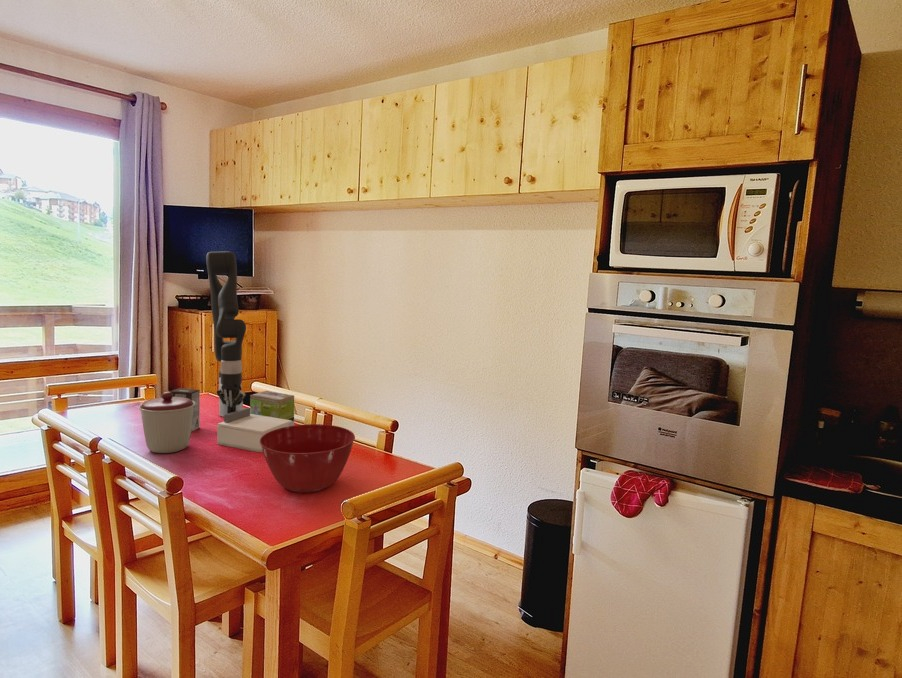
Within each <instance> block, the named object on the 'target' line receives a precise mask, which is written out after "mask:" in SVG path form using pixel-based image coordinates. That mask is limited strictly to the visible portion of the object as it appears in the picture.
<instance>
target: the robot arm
mask: <svg viewBox="0 0 902 678" xmlns="http://www.w3.org/2000/svg"><path fill="white" fill-rule="evenodd" d="M205 260H206V270H207V275H208V282H209V289H210V290H209V291H210V302H211V303H210V304H211V315H212V323H213V329H214V330H213V331H214V334H213V335H214V356H215V359H216V361H218V362H220V370H219V372H218V390H216V394H217V396H218V405H219V406H218V408H219V409H218V410H219V411H218V413H219V414H218V415H219V416H220V417H224V415H225V414H228V413H231V412H234V411H238V410H241V409H244V399H245V398H246V397H247V393H246V392H243V389H242V383H243V364H242V358H243V357H242V355H243V340H244V338H245V335H246V331H247V325H246V323H245V321H244V320H243V319H240V318H239V319H235V318H236V317H238V316H239V303H238V293H237V291H238V290H237V289H238V269H237V267H238V264H237V258H236V254H235V252H233V251H229V250H227V251H225V250H224V251H209V252H207V254H206V257H205ZM219 275H222V276H223V275H228V278H227V280H226V282H225V283H224V284H223V285H222V284H221V282H220V280H219V277H218V276H219ZM224 339H234V340H224Z"/></svg>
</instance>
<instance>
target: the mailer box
mask: <svg viewBox="0 0 902 678" xmlns="http://www.w3.org/2000/svg"><path fill="white" fill-rule="evenodd" d="M216 427H217V428H216V429H217V430H216V431H217V433H216V435H217V438H216V439H217V443H216V444H217V445H219V446H225V447H231V448H234V449H241V450H246V451H250V452H255V453H256V452H257V453H263V449H262V446H261V444H260V438H261V437H262V436H263V435H265V434H266V433H268V432H270V431H268V432H266V433H263V434H262V433H256V432H251V431H245V430H239V429H234V428H228V427H222V426H218V425H217V426H216ZM284 427H289V424H286V425H284V426H281V427H279V428H276V429H280V428H284ZM276 429H273V430H276ZM273 430H271V431H273Z"/></svg>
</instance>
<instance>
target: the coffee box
mask: <svg viewBox="0 0 902 678" xmlns="http://www.w3.org/2000/svg"><path fill="white" fill-rule="evenodd" d="M170 392H171V393H172V394H173V397H184V398H188V399H190V400H192V401H194V402H195V406H194V407H193V416H192V426H191V433H192V432H193V431H196V430H198V429H200V426H201V425H200V423H201V421H200V414H201V413H200V411H201V410H200V409H201V408H200V397H201V396H200V394H201V393H200V389H194V388H184V387H179V388H176V389H173V390H170Z"/></svg>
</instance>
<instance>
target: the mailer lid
mask: <svg viewBox="0 0 902 678" xmlns="http://www.w3.org/2000/svg"><path fill="white" fill-rule="evenodd" d="M223 419H224V420H223V421H221V422H218V423H217V426H222V427H228V428H234V429H239V430H245V431H251V432H256V433H262V434H263V433H266V432H268V431H271V430H273V429H276V428H279V427H281V426H284V425H286V424H289V423H291V422H292V420H286V419H280V418H274V417H268V416H261V415H255V414H250V407H243V409H241V410H238V411H234V412H231V413H228V414H225V415H224V418H223Z"/></svg>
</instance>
